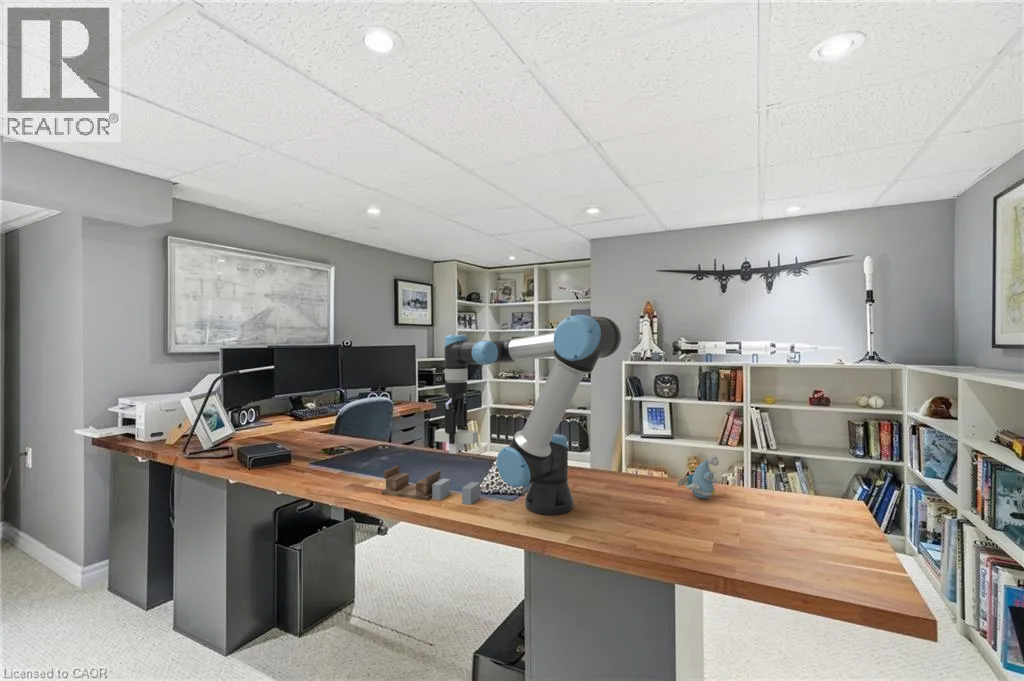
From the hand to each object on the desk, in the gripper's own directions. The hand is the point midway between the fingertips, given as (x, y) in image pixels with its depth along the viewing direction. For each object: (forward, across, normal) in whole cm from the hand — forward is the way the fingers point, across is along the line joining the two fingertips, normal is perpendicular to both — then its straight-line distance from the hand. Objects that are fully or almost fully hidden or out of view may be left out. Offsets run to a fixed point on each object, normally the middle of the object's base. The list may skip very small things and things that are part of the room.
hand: (456, 451), depth 155 cm
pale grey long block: (-3, 0, 0) cm, 3 cm away
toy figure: (+17, -30, +77) cm, 84 cm away
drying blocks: (+16, 0, 0) cm, 16 cm away
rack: (+16, 0, -17) cm, 23 cm away
